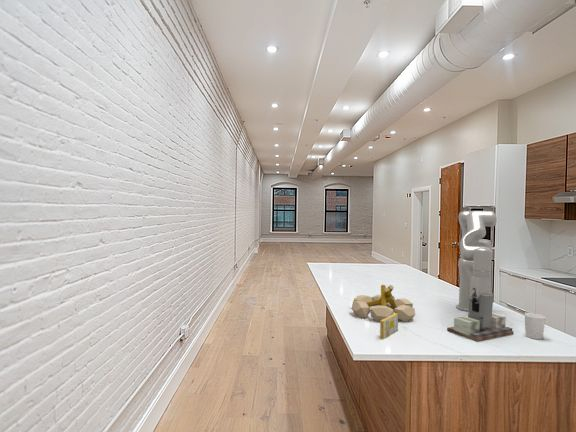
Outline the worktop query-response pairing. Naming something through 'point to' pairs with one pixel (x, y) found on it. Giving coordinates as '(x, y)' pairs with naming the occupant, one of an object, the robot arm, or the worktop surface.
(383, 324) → the candy box
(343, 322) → the worktop surface
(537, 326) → the white cup
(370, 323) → the worktop surface
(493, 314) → the board
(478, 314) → the skincare box
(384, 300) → the campfire
